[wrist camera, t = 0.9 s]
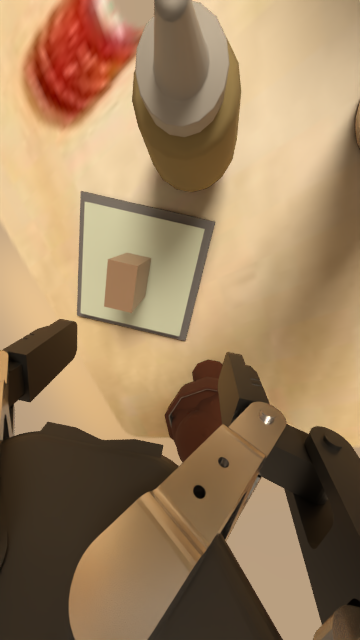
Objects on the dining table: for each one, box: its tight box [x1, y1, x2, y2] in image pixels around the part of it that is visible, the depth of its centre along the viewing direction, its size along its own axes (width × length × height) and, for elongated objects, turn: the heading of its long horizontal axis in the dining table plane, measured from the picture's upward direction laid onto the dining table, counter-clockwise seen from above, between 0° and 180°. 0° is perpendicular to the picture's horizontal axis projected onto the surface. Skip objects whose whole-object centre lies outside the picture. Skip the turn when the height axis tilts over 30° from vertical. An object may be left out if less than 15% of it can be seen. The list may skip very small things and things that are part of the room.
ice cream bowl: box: [165, 360, 223, 462], centre depth 28 cm, size 11×11×15 cm
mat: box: [77, 191, 215, 341], centre depth 30 cm, size 16×16×1 cm
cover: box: [81, 202, 205, 336], centre depth 26 cm, size 14×14×7 cm
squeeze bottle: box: [132, 0, 241, 192], centre depth 16 cm, size 8×8×18 cm
